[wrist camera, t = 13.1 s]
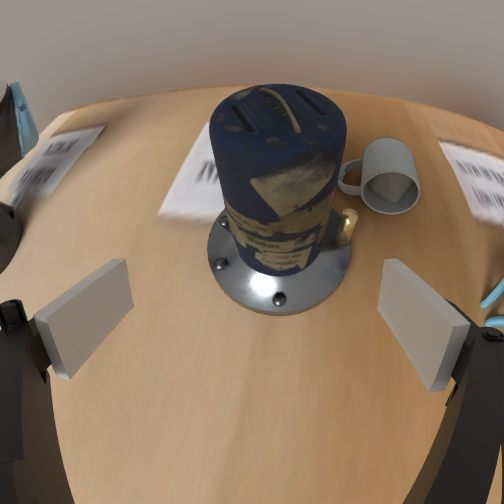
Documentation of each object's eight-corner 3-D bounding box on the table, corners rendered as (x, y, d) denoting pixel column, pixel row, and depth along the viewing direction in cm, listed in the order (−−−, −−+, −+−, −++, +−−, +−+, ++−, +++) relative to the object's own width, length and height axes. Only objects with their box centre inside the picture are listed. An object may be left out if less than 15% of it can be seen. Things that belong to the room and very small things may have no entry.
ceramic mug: (404, 176, 38) (419, 137, 31) (409, 220, 34) (429, 180, 27) (336, 163, 40) (342, 121, 33) (332, 205, 36) (341, 162, 29)
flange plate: (202, 314, 30) (185, 291, 25) (217, 195, 38) (208, 160, 32) (354, 314, 29) (372, 291, 23) (339, 195, 37) (347, 159, 31)
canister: (239, 288, 30) (200, 152, 14) (231, 214, 34) (202, 76, 19) (330, 274, 30) (376, 134, 14) (310, 203, 34) (325, 65, 19)
